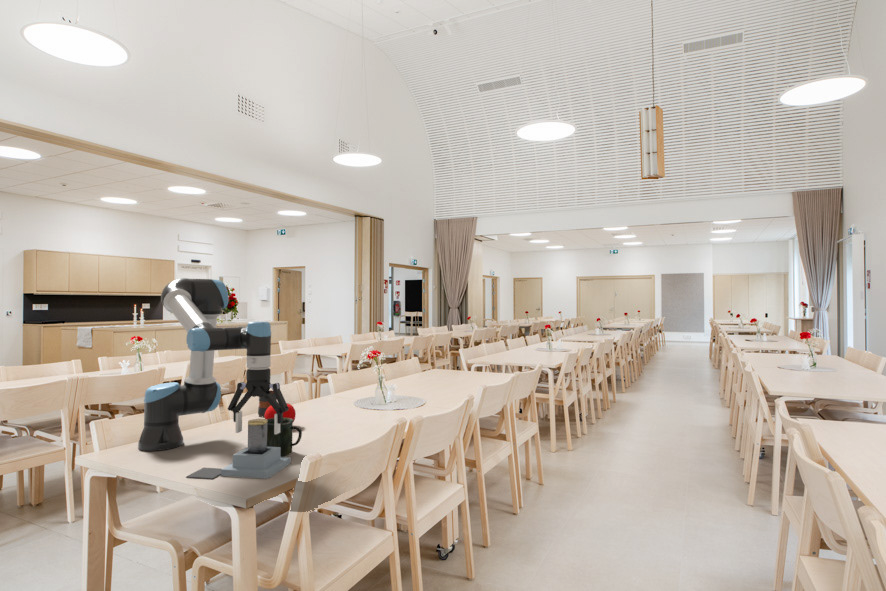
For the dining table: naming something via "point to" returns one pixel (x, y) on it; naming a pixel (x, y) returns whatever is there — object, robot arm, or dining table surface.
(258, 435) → the grey canister
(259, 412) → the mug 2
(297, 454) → the dining table surface
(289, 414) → the tomato
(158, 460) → the dining table surface
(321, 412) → the dining table surface
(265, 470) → the housing
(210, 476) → the mat
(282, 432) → the mug
